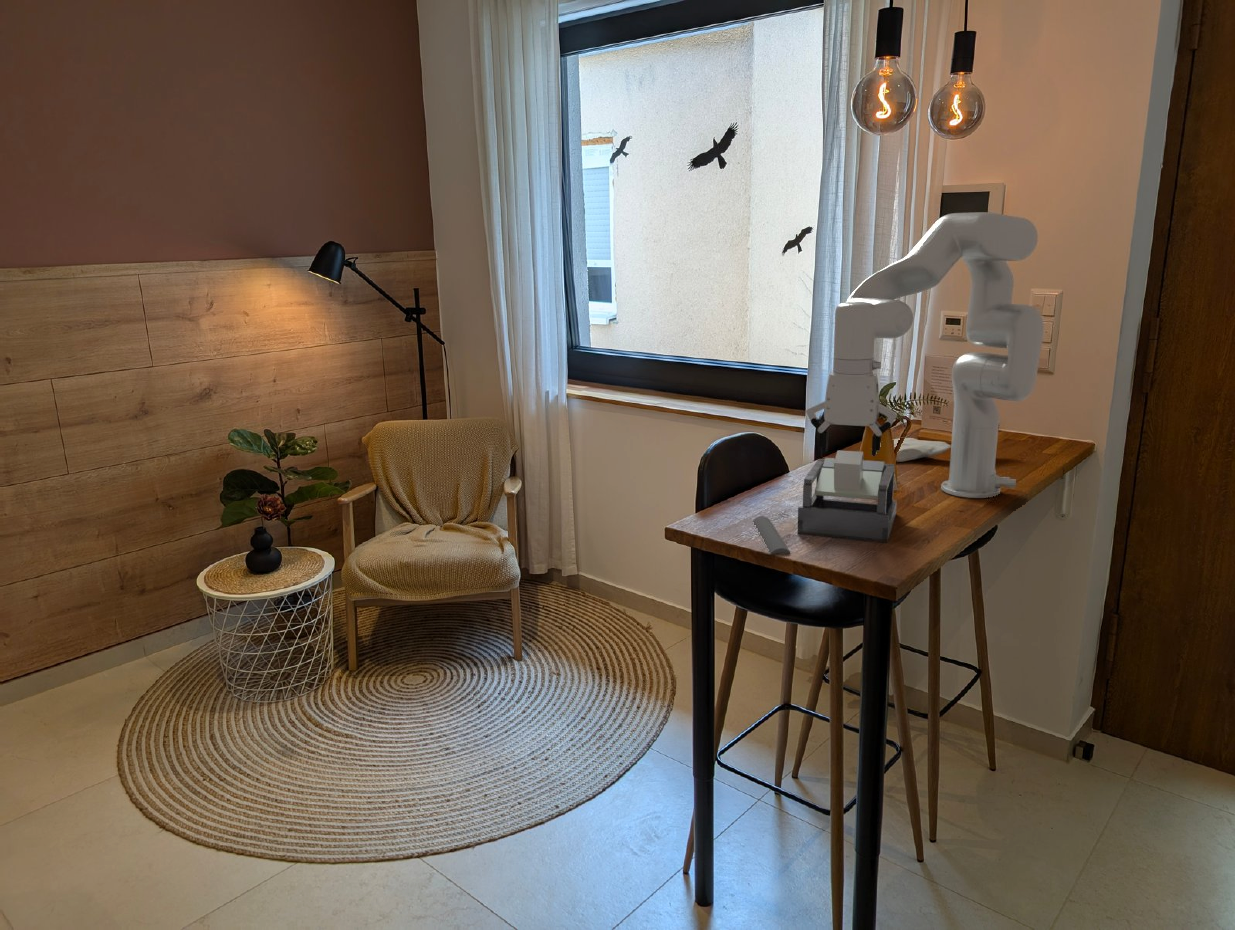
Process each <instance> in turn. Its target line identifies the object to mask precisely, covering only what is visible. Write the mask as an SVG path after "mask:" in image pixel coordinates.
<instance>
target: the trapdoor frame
mask: <svg viewBox="0 0 1235 930" xmlns="http://www.w3.org/2000/svg"><path fill="white" fill-rule="evenodd" d="M824 461H825V458H824V459H821V458H818V459H817V461H816V462H815V463H814V465H813V466H812V468H811V469H810V470H809V472H808V473H807V474H806V475H805V477H804V479H803V484H802V485H803V486H802V488H803V489H802V505H798V508H797V534H798V535H807V536H817V537H826V538H834V539H835V538H836V539H847V540H857V541H864V542H865V541H867V542H874V543H875V542H877V543H888V541H889V538H890V535H891V532H892V528H893V524H894V522H895V518H896V515H897V506H898V505H897V503H898V502H897V501H898V500H897V499H894V485H895V469H896V464H894V463H884V474H883V476H882V478H881V481H880V483H879V490H878V497H877V503H876V502H866V501H856V500H855V501H853V500H842V499H831V498H825V496H821V495H815V493H813V483H814V482H815V480H816V485H817V482H818V479H819V476H820V473H821V470H822V468H823V464H824Z"/></svg>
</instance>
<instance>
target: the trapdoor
mask: <svg viewBox="0 0 1235 930" xmlns="http://www.w3.org/2000/svg"><path fill="white" fill-rule="evenodd" d="M824 460H825V461H824V464H823V468H822V470H821V473H820V476H819V479H818V482H817V481H816V482H817V485H816V486H815V489H814V494H815V495H821V496H824V497H832V498H833V497H835V498H844V499H845V498H847V499H856V500H857V499H858V500H869V501H870V500H871V501H878V490H879V483H880V481H881V478H882V476H883V474H884V471H885V470H884V464H885V461H882V460H881V461H878V460H877V461H876V460H864V459H863V480H862V484H861V488H860V491H856V490H843V489H834V461H835V458H834V457H824Z"/></svg>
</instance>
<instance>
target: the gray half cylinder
mask: <svg viewBox="0 0 1235 930" xmlns="http://www.w3.org/2000/svg"><path fill="white" fill-rule="evenodd" d="M752 522H754V525H756V528H758V532H760V535H761V536H762V538H763V539H764V542H765V544H766V545H767V547H766V549H767V548H768V549H769V551H768V553H769V552H770V553H769V554H770V555H777V554H776V553H790V552H791V551H790V549H789V548H788V546H787V545H786V543H785V541H784V540H783V538H782V537H781V535H780V533H779V531H778V530H777V528H776V527H775V526H774V524H773V522H772V521H771V519H770V518H768V517H767V516H764V515H760V516H756V517H755V518H754V519H753V521H752ZM754 525H753V526H754ZM756 528H755V529H756ZM758 532H757V533H758ZM760 535H759V536H760ZM764 542H763V543H764ZM765 544H764V545H765ZM768 549H767V550H768ZM790 554H791V553H790Z"/></svg>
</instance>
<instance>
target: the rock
mask: <svg viewBox="0 0 1235 930" xmlns="http://www.w3.org/2000/svg"><path fill="white" fill-rule="evenodd" d="M900 438H901V437H899V438H895V439H893V440H894V447H896V446H897V443H898V440H900ZM904 438H905V439H904V441H903V443H902V444H901V447H900V449H899V451H898V452H897V461H896V462H898V463H899V462H900V463H901V462H907V461H914V460H918V459H921V458H929V457H930V458H932V457H935V456H936V455H940V454H941V453H944V452H946V451H948V450H951V444H949V443H947V442H945V441H939V440H937V441H936V440H934V441H933V440H924V439H923V440H919V439H916V438H913V437H904Z"/></svg>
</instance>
